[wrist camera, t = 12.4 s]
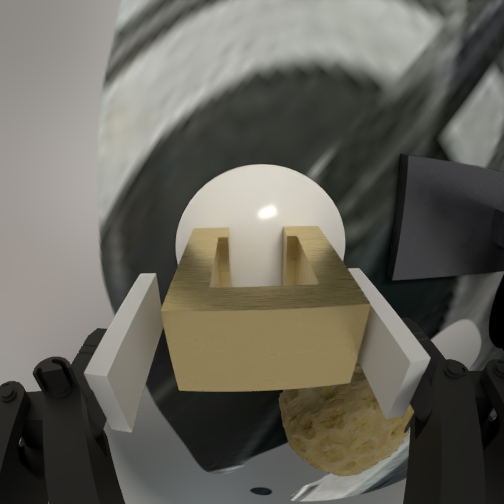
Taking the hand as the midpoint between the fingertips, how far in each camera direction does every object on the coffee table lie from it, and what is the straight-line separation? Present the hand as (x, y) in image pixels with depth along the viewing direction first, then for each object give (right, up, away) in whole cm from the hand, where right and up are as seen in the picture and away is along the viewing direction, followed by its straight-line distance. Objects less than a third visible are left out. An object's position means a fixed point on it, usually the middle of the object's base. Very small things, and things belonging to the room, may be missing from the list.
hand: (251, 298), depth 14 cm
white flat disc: (+1, +2, +4) cm, 5 cm away
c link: (0, +2, +4) cm, 4 cm away
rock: (+7, -9, +10) cm, 15 cm away
